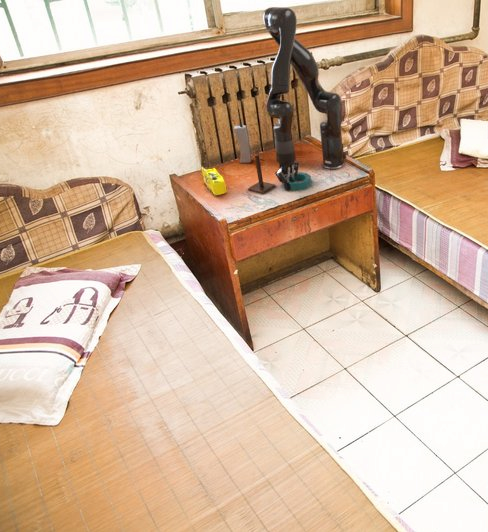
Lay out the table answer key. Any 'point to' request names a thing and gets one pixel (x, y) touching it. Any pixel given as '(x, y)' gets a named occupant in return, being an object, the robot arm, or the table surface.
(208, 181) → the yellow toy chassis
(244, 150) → the vintage mobile phone
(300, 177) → the teal ring
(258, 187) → the brown peg stand
